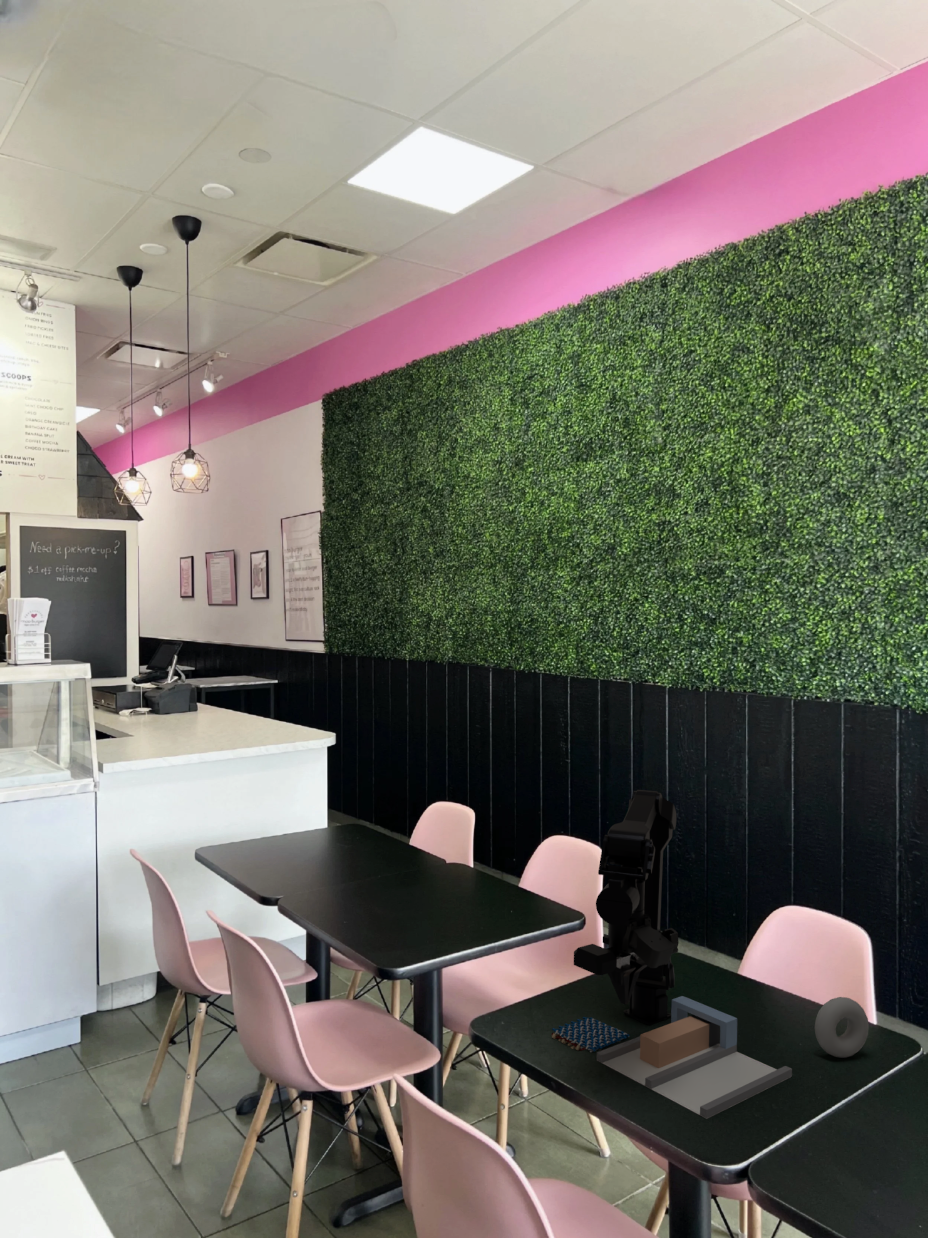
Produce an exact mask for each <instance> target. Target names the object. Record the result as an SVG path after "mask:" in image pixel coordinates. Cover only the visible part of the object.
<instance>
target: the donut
mask: <svg viewBox="0 0 928 1238" xmlns="http://www.w3.org/2000/svg"><path fill="white" fill-rule="evenodd" d="M843 1019H846V1020H847V1027H846V1030H845V1031H844V1033H843V1034H841V1035H837V1026H838V1024H839V1023H840V1021H841V1020H843ZM869 1025H870V1024H869V1019H868V1016H867V1014H866V1011H865V1010H864V1008H863V1007H862V1006H861V1005H860V1004H859V1003H858V1002H857V1001H856V1000H854V999H852V998H850V997H844V996H838V997H834V998H831V999H829V1000H828V1001H827V1002H825V1003H824V1004H823V1005H822V1006H821V1008H820V1009H819V1010H818V1013H817V1015H816V1018H815V1023H814V1032H815V1037H816V1040H817V1042H818V1044H819V1046H820V1048H822V1049H823V1051H824V1052H826V1054H828V1055H831V1056H832V1057H835V1058H842V1059H843V1058H844V1059H846V1058H849V1057H853V1056H854V1055H855V1054H856V1053H858V1052H860V1051H861V1049H862V1047H864V1045H865V1043H866V1041H867V1039H868V1036H869V1027H870V1026H869Z"/></svg>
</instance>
